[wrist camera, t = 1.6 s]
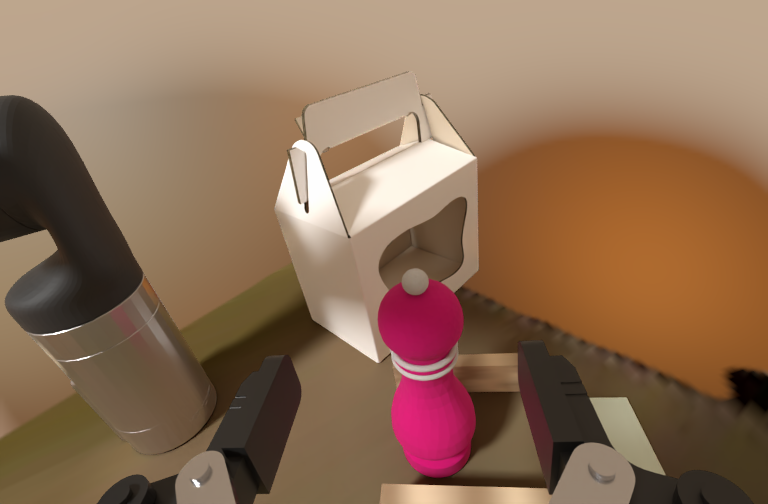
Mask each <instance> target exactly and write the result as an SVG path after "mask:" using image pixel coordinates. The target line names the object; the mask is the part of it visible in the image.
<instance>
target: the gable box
mask: <svg viewBox="0 0 768 504" xmlns="http://www.w3.org/2000/svg"><path fill="white" fill-rule="evenodd" d="M404 116H405V121H404V126H403V132H402V137H401V142H400V146H398V147H396V148H394V149H392V150H390V151H388V152H385V153H384V154H382V155H379V156H378V157H375V158H373V159H371V160H369V161H367V162H365V163H363V164H361V165H359V166H357V167H355V168H353V169H351V170H349V171H347V172H345V173H343V174H341V175H339V176H337V177H335V178H333V179H331V180H329V179H328V176H327V173H326V171H325V168H324V165H323V163H322V160H321V157H320V155H321V153H322V152H327V151H328V150H329V148H332V147H334V146H337V145H339V144H341V143H344V142H346V141H348V140H351V139H353V138H355V137H357V136H360V135H362V134H365V133H367V132H369V131H372V130H374V129H376V128H379V127H381V126H383V125H386V124H388V123H390V122H392V121H395V120H397V119H399V118H402V117H404ZM295 121H296V123H297V125H298V127H299V129H300V130H301V133H302V135H303V136H304V140H299V141H297V142H296V143H295V144H294V145H293V147H292V148H291V149H289V150H287V153H288V158H289V160H288V163H287V167H286V171H285V174H284V177H283V181H282V184H281V188H280V191H279V195H278V198H277V201H276V205H275V208H274V209H275V212H276V215H277V218H278V221H279V224H280V227H281V230H282V233H283V236H284V239H285V242H286V244H287V247H288V250H289V253H290V256H291V259H292V262H293V265H294V268H295V271H296V274H297V277H298V279H299V282H300V285H301V288H302V291H303V294H304V297H305V300H306V303H307V306H308V309H309V312H310V314H311V317H312V320H314V321H315V322H317V323H318V324H320V325H321V326H323V327H324V328H326V329H327V330H329V331H330V332H332V333H333V334H335V335H336V336H338V337H339V338H341V339H342V340H344V341H345V342H347V343H348V344H350V345H351V346H353V347H354V348H356V349H357V350H359V351H360V352H362V353H363V354H365V355H366V356H368V357H369V358H371V359H372V360H374V361H375V362H377V363H380V362H381V361H382V360H383V359H384V358H385V357H386V356H388V355H389V354H390V353H391V352H390V348H388V347H387V346H386V344H385V343H384V342H383V339H382V337H381V334H380V332H379V328H378V310H379V306H380V303H381V301H382V299H383V298H384V296H385V295H386V293H387V292H388V291H389V290H390V289H391V288H392V287H394V286H395V285H397V284H399V283H400V282H402V277H403V275H404V274H405V273H406V271H408V270H410V269H413V268H417V269H421V270H422V271H424V272H425V273H426V275H427V276H428V279H432V280H436V281H439V282H441V283H443V284H445V285H446V286H447V287H448V288H449V289H450V290H451V291H453V292H454V293H455V292H456V291H457V290H458V289H459V288H460V287H461V286H462V285H463V284H464V283H465V282H466V281H467V280H468V279H470V278H471V277H472V276H473V275H474V274H475V273H476V272H477V271H478V270H479V254H478V253H479V250H478V194H477V193H478V192H477V191H478V189H477V158H476V156H475V155H474V154H473V152H472V151H471V150H470V148H469V147H468V146H467V144H466V143H465V141H464V140H463V139H462V137H461V136H460V135H459V133H458V132H457V131H456V129H455V128H454V127H453V125H452V124H451V123H450V122H449V120H448V119H447V117H446V116H445V114H444V113H443V112H442V110H441V109H440V108H439V106H438V105H437V104H436V103H435V101H434V100H432V98H431V94H426V95H422V94H420V93H419V89H418V84H417V79H416V76H415V74H414V73H413V72H405V73H402V74H399V75H396V76H393V77H390V78H387V79H384V80H381V81H378V82H375V83H372V84H369V85H365V86H363V87H360V88H356V89H354V90H350V91H347V92H345V93H342V94H338V95H335V96H332V97H329V98H326V99H323V100H320V101H317V102H314V103H311V104H308V105H306V106H305V107H304V108H303V111H302V116H301V117H298V118H296V119H295ZM431 137H433V140H430V138H431Z"/></svg>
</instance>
